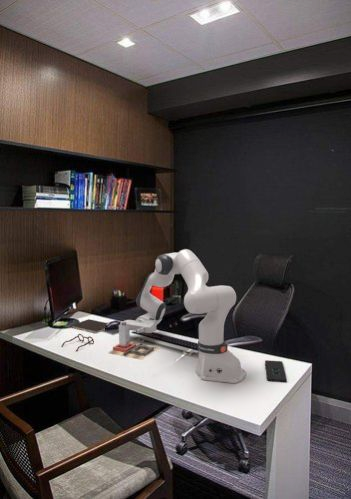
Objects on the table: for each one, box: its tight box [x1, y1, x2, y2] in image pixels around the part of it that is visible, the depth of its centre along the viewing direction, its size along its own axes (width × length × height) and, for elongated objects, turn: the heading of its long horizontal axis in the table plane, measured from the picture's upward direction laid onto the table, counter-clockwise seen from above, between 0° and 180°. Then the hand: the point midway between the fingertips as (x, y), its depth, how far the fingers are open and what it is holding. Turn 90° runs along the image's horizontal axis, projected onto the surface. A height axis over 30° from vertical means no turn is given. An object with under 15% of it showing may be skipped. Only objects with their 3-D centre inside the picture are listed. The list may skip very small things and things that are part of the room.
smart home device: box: [264, 359, 287, 383], centre depth 164 cm, size 8×2×20 cm
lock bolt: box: [118, 321, 131, 349], centre depth 193 cm, size 4×4×14 cm
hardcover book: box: [70, 318, 108, 334], centre depth 236 cm, size 16×23×2 cm
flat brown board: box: [107, 341, 161, 361], centre depth 190 cm, size 21×18×3 cm
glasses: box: [60, 333, 95, 353], centre depth 203 cm, size 13×13×5 cm
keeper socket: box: [112, 342, 136, 352], centre depth 193 cm, size 9×9×2 cm
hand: (129, 330), depth 197 cm, fingers open, 8 cm apart
